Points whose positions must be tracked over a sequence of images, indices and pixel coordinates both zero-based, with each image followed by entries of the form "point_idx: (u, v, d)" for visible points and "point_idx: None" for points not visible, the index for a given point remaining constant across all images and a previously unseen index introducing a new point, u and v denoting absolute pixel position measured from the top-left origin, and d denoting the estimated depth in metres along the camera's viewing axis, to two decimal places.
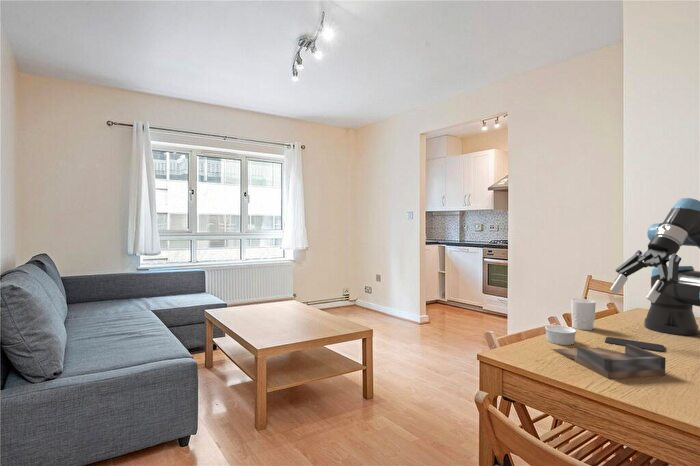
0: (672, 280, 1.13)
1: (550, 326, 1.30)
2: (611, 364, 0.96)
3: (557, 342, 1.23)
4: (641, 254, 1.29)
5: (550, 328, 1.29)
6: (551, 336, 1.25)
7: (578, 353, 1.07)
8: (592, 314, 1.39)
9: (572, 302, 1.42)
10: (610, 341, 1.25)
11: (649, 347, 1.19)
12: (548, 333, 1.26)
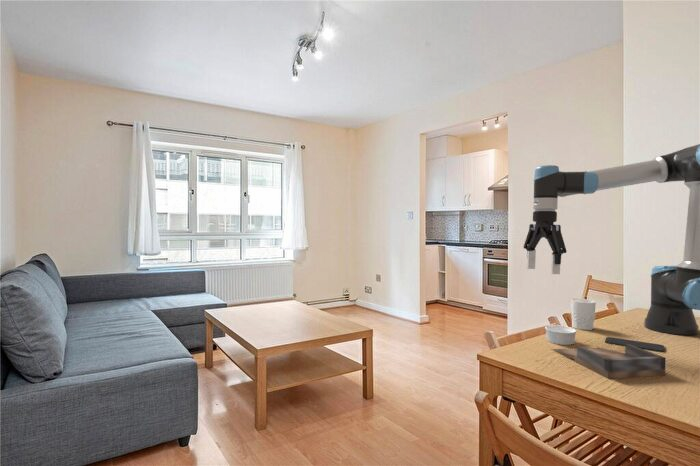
0: (561, 252, 1.26)
1: (550, 326, 1.30)
2: (611, 364, 0.96)
3: (557, 342, 1.23)
4: (533, 227, 1.40)
5: (550, 328, 1.29)
6: (551, 336, 1.25)
7: (578, 353, 1.07)
8: (592, 314, 1.39)
9: (572, 302, 1.42)
10: (610, 341, 1.25)
11: (649, 347, 1.19)
12: (548, 333, 1.26)
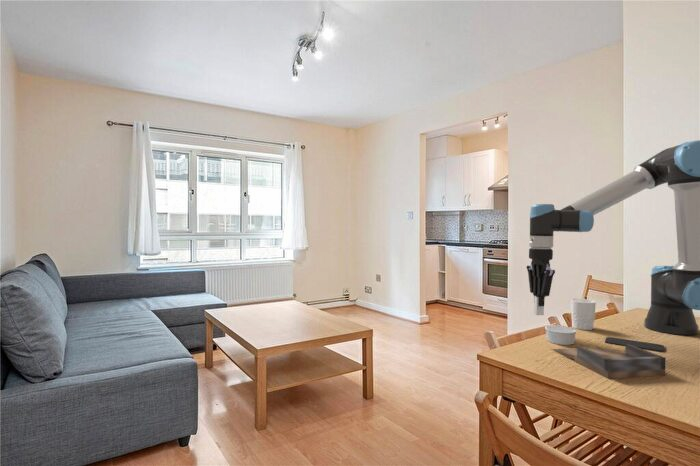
0: (544, 295, 1.33)
1: (550, 326, 1.30)
2: (611, 364, 0.96)
3: (557, 342, 1.23)
4: (531, 267, 1.41)
5: (550, 328, 1.30)
6: (551, 336, 1.25)
7: (578, 353, 1.07)
8: (592, 314, 1.39)
9: (572, 302, 1.42)
10: (610, 341, 1.25)
11: (649, 347, 1.19)
12: (548, 333, 1.26)
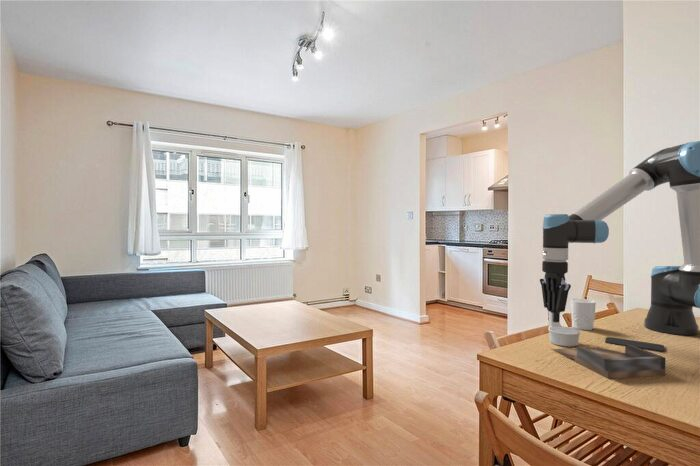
0: (559, 311, 1.26)
1: (553, 327, 1.28)
2: (611, 364, 0.96)
3: (560, 343, 1.21)
4: (544, 280, 1.33)
5: (553, 329, 1.28)
6: (554, 337, 1.23)
7: (578, 353, 1.07)
8: (592, 314, 1.39)
9: (572, 302, 1.42)
10: (610, 341, 1.25)
11: (649, 347, 1.19)
12: (551, 334, 1.24)
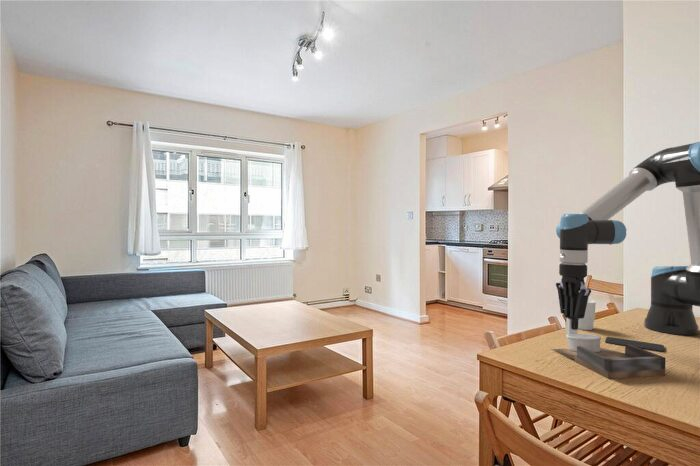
0: (578, 317, 1.17)
1: (571, 335, 1.20)
2: (611, 364, 0.96)
3: None
4: (561, 284, 1.25)
5: (572, 337, 1.19)
6: (574, 344, 1.14)
7: (578, 353, 1.07)
8: (592, 314, 1.39)
9: None
10: (610, 341, 1.25)
11: (649, 347, 1.19)
12: (570, 341, 1.15)
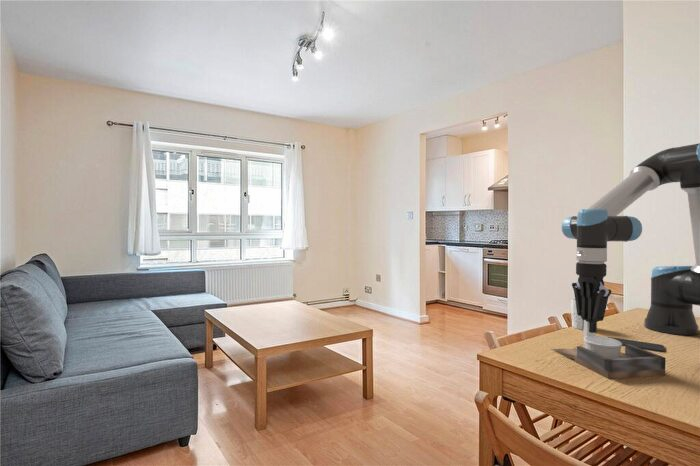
0: (597, 320, 1.09)
1: (589, 337, 1.12)
2: (611, 364, 0.96)
3: None
4: (577, 284, 1.17)
5: (589, 339, 1.12)
6: (592, 349, 1.07)
7: (578, 353, 1.07)
8: None
9: (572, 302, 1.42)
10: None
11: (649, 347, 1.19)
12: (588, 346, 1.08)
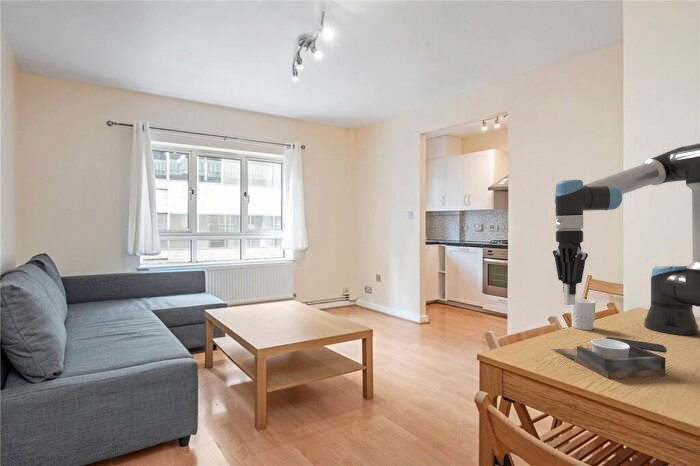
0: (576, 282, 1.19)
1: (596, 340, 1.10)
2: (611, 364, 0.96)
3: None
4: (558, 251, 1.26)
5: (596, 342, 1.09)
6: (599, 352, 1.04)
7: (578, 353, 1.07)
8: (592, 314, 1.39)
9: None
10: None
11: (649, 347, 1.19)
12: (595, 349, 1.05)
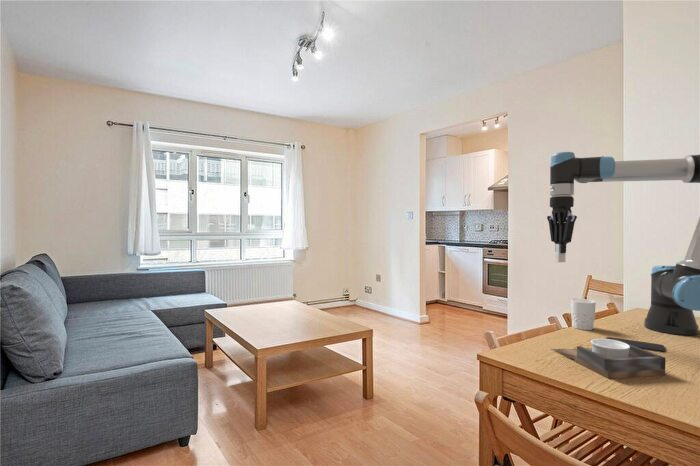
0: (566, 241, 1.36)
1: (596, 340, 1.10)
2: (611, 364, 0.96)
3: None
4: (551, 216, 1.43)
5: (596, 342, 1.09)
6: (599, 352, 1.04)
7: (578, 353, 1.07)
8: (592, 314, 1.39)
9: (572, 302, 1.42)
10: None
11: (649, 347, 1.19)
12: (595, 349, 1.05)
